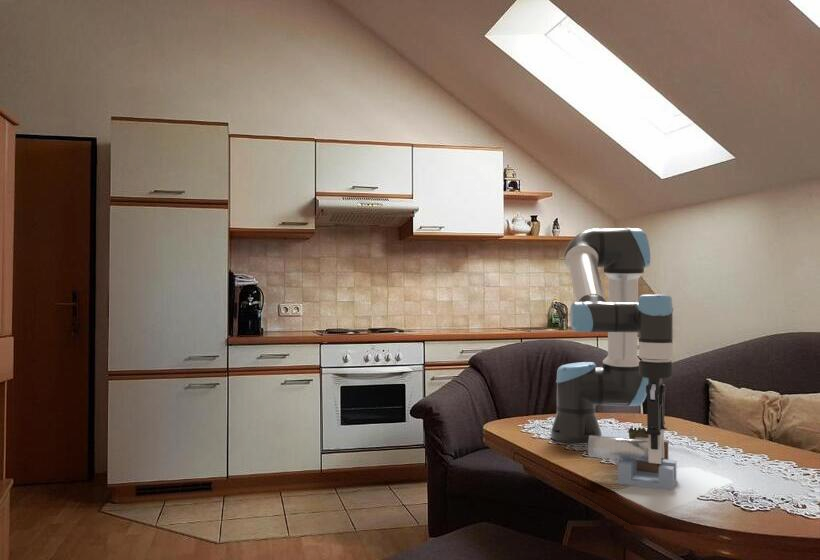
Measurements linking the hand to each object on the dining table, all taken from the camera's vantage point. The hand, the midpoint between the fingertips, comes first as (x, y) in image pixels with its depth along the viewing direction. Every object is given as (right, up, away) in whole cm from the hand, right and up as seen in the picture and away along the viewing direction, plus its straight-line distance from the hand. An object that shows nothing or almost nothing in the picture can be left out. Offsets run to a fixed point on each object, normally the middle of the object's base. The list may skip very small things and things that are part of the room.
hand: (656, 459), depth 154 cm
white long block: (-6, +2, +3) cm, 7 cm away
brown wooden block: (+3, -6, +12) cm, 13 cm away
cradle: (-2, -6, +1) cm, 6 cm away
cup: (+5, -6, +23) cm, 24 cm away
